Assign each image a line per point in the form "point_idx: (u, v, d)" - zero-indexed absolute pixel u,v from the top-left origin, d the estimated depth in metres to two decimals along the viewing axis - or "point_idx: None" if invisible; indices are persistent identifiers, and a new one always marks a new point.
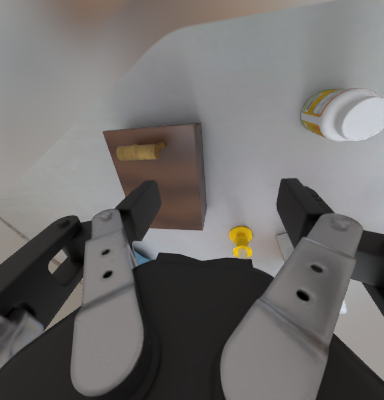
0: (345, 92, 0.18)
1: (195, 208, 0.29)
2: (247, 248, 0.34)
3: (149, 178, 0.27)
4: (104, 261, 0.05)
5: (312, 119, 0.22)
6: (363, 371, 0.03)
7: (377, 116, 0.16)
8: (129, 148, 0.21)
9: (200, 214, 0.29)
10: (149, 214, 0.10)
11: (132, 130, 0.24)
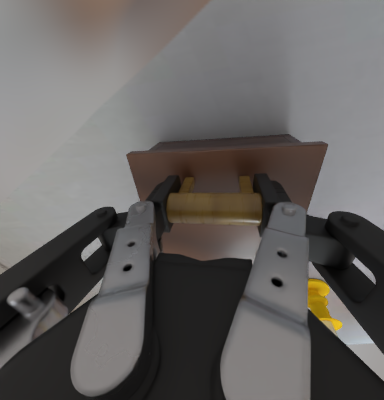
0: None
1: None
2: (335, 321, 0.23)
3: (203, 231, 0.16)
4: (127, 253, 0.05)
5: None
6: (363, 371, 0.03)
7: None
8: (197, 203, 0.09)
9: None
10: None
11: (186, 153, 0.12)
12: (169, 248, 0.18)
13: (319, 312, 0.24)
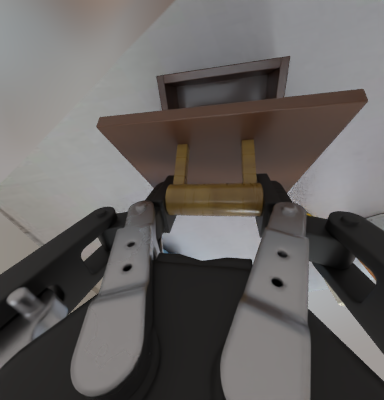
0: None
1: None
2: None
3: (203, 182, 0.16)
4: (127, 253, 0.05)
5: None
6: (363, 371, 0.03)
7: None
8: (197, 205, 0.09)
9: None
10: None
11: (174, 122, 0.09)
12: None
13: None
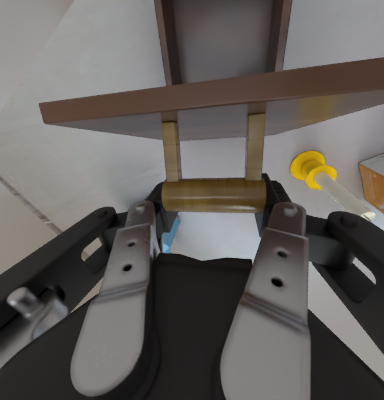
0: None
1: (277, 131, 0.17)
2: (330, 170, 0.24)
3: (200, 131, 0.13)
4: (127, 253, 0.05)
5: None
6: (363, 371, 0.03)
7: None
8: (196, 209, 0.09)
9: (281, 132, 0.18)
10: None
11: (151, 114, 0.06)
12: None
13: None
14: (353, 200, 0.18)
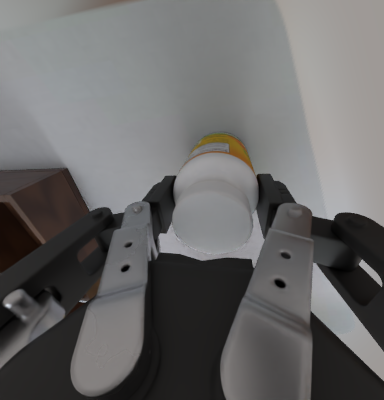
0: (194, 159, 0.10)
1: None
2: None
3: None
4: (125, 254, 0.05)
5: None
6: (363, 371, 0.03)
7: (227, 223, 0.08)
8: None
9: None
10: (172, 208, 0.11)
11: None
12: None
13: None
14: None
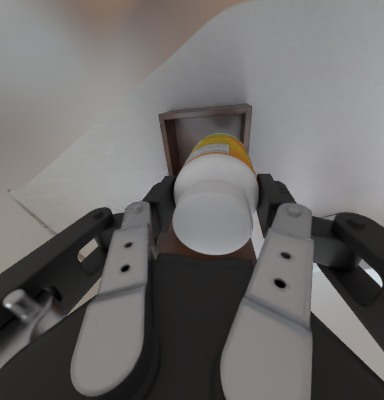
0: (194, 160, 0.10)
1: None
2: None
3: None
4: (125, 254, 0.05)
5: None
6: (363, 371, 0.03)
7: (227, 224, 0.08)
8: None
9: None
10: (172, 208, 0.11)
11: None
12: None
13: None
14: None
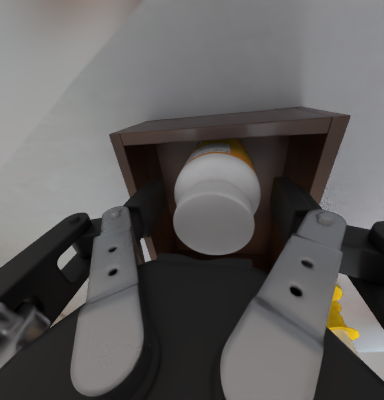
0: (195, 160, 0.10)
1: None
2: (351, 330, 0.20)
3: None
4: (110, 259, 0.05)
5: None
6: (363, 371, 0.03)
7: (228, 224, 0.08)
8: None
9: None
10: (156, 212, 0.11)
11: None
12: None
13: (332, 320, 0.21)
14: None
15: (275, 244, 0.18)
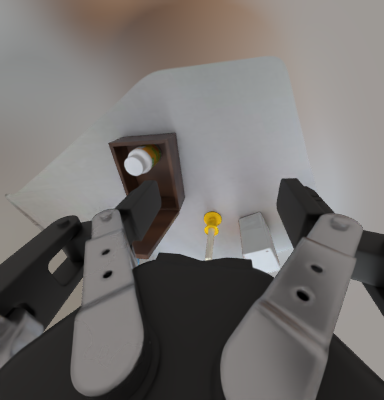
0: (132, 150, 0.35)
1: None
2: (214, 227, 0.45)
3: None
4: (104, 261, 0.05)
5: None
6: (363, 371, 0.03)
7: (136, 165, 0.33)
8: None
9: (174, 219, 0.39)
10: (149, 214, 0.10)
11: None
12: None
13: (209, 225, 0.46)
14: (208, 250, 0.39)
15: None
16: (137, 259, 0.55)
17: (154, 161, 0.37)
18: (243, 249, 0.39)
